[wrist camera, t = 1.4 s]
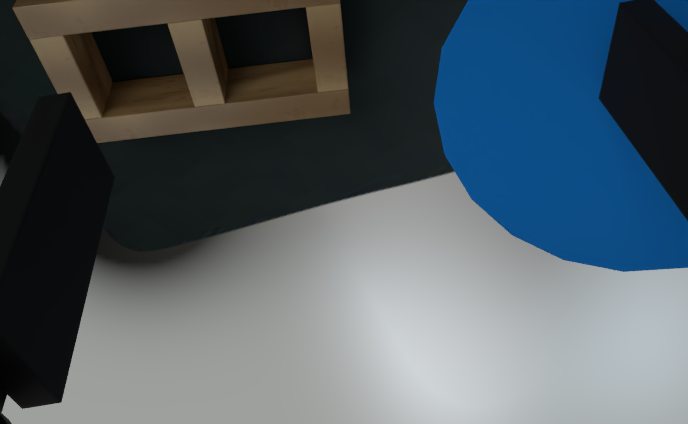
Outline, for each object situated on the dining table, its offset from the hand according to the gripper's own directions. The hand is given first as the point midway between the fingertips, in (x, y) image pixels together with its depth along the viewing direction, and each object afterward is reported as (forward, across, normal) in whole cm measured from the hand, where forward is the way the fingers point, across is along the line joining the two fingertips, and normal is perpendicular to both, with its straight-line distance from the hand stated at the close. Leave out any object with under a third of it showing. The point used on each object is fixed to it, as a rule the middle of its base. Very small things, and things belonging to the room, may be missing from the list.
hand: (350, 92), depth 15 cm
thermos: (+21, +20, -7) cm, 30 cm away
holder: (+24, -8, -10) cm, 28 cm away
